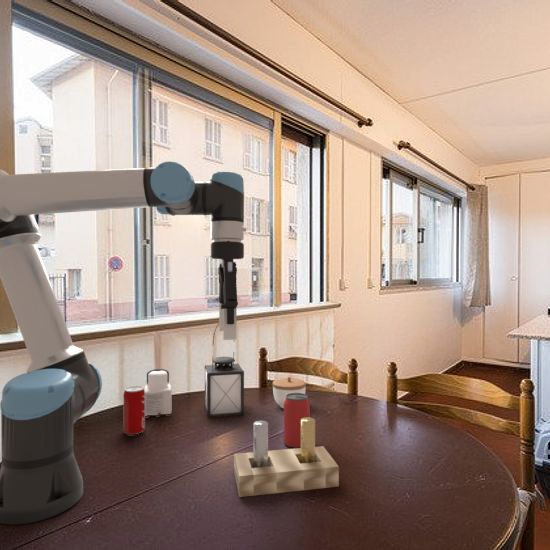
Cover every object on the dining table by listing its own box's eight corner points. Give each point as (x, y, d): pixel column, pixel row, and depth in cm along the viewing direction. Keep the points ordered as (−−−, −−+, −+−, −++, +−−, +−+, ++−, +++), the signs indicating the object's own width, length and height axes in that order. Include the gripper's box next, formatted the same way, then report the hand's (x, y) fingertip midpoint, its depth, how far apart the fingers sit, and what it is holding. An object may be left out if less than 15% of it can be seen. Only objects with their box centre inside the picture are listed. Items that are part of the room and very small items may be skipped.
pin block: (239, 497, 79) (239, 476, 79) (233, 472, 89) (234, 453, 89) (338, 486, 83) (338, 466, 83) (323, 464, 93) (323, 446, 93)
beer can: (308, 450, 100) (308, 400, 100) (281, 447, 101) (281, 399, 101) (311, 439, 106) (311, 393, 106) (286, 437, 108) (286, 391, 108)
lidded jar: (311, 404, 135) (311, 375, 135) (295, 413, 126) (295, 383, 126) (283, 399, 141) (283, 371, 141) (266, 407, 132) (266, 378, 132)
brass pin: (302, 481, 85) (302, 422, 85) (299, 474, 88) (299, 417, 88) (316, 479, 86) (316, 421, 86) (312, 472, 89) (312, 416, 89)
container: (144, 409, 130) (144, 368, 130) (170, 407, 132) (170, 366, 132) (144, 418, 122) (144, 374, 122) (171, 415, 125) (171, 372, 125)
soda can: (145, 434, 110) (145, 389, 110) (123, 437, 108) (123, 391, 108) (144, 427, 115) (144, 383, 115) (123, 429, 113) (123, 385, 113)
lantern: (238, 403, 136) (238, 318, 136) (244, 415, 125) (244, 322, 125) (204, 406, 133) (204, 319, 133) (207, 418, 122) (206, 323, 122)
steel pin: (254, 485, 83) (254, 426, 83) (252, 478, 86) (252, 421, 86) (269, 484, 84) (269, 425, 84) (266, 477, 87) (266, 420, 87)
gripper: (251, 237, 83) (251, 343, 83) (237, 245, 107) (237, 327, 107) (213, 236, 81) (213, 344, 81) (208, 245, 106) (208, 328, 106)
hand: (227, 335), depth 94 cm, fingers open, 13 cm apart
